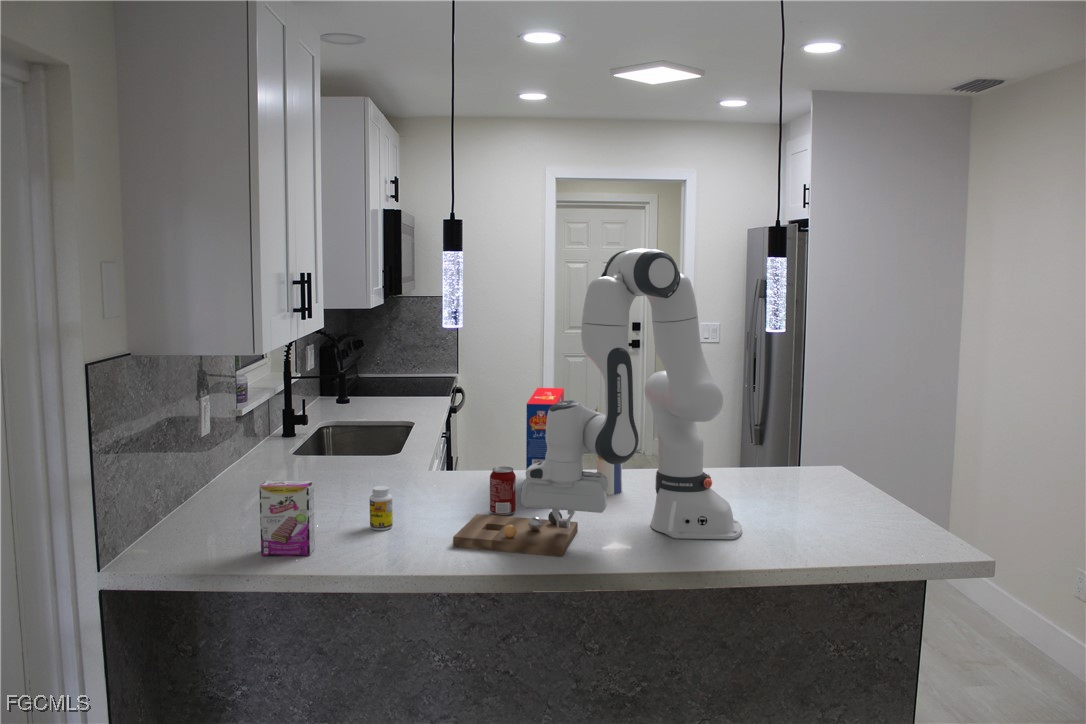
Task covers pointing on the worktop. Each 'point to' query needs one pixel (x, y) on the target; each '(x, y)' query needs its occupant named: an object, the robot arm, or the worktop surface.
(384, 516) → the supplement bottle
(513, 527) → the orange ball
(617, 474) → the white tall bottle
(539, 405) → the pasta box
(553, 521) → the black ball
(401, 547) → the worktop surface
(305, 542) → the candy bar box
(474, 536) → the board
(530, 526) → the steel ball
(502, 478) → the soda can
